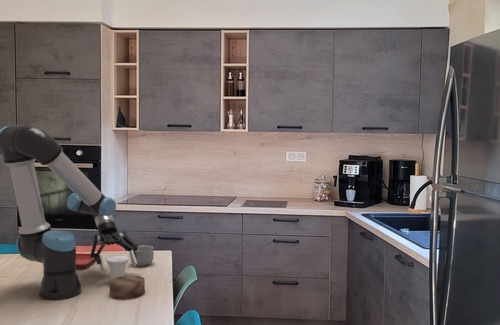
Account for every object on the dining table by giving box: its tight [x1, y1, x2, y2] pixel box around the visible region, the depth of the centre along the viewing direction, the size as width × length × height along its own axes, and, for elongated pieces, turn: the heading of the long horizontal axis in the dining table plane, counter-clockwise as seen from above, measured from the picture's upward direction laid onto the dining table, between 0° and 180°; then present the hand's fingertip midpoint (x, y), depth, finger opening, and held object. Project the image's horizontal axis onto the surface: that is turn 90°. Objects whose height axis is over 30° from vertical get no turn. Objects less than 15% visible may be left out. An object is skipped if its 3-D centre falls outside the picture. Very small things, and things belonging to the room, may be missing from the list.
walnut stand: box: [109, 275, 146, 300], centre depth 191 cm, size 13×13×5 cm
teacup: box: [129, 244, 154, 267], centre depth 233 cm, size 14×11×8 cm
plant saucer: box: [76, 253, 96, 270], centre depth 232 cm, size 18×18×3 cm
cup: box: [106, 255, 130, 281], centre depth 205 cm, size 9×9×10 cm
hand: (120, 267), depth 205 cm, fingers open, 13 cm apart
